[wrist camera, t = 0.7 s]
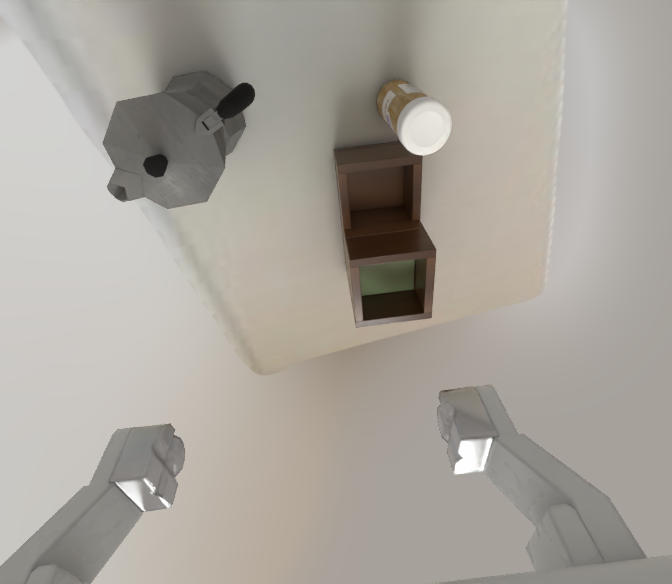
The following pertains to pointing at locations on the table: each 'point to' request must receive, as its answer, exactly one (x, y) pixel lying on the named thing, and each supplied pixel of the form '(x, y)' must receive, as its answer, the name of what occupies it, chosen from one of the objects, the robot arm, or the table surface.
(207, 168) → the coffeepot
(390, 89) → the sprinkles bottle
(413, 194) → the caddy
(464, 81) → the table surface
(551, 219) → the table surface
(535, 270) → the table surface
